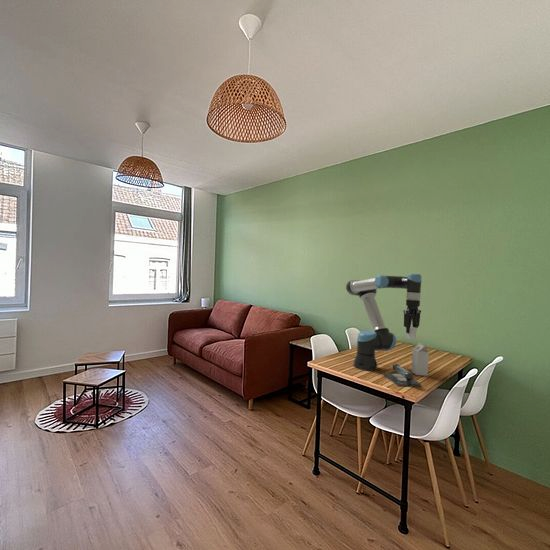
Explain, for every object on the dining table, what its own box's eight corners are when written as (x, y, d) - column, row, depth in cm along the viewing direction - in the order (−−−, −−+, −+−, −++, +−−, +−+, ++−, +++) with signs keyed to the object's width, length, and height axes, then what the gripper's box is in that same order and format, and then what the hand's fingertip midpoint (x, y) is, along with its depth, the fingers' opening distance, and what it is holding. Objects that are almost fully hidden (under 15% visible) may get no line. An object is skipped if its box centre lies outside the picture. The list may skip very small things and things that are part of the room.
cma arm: (391, 368, 180) (391, 363, 180) (397, 368, 181) (397, 363, 181) (407, 379, 163) (407, 374, 163) (414, 379, 163) (414, 374, 163)
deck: (383, 375, 179) (384, 369, 179) (405, 375, 181) (405, 370, 181) (397, 386, 163) (398, 379, 163) (421, 386, 165) (421, 379, 165)
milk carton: (422, 372, 190) (424, 343, 189) (427, 376, 182) (429, 345, 182) (411, 371, 190) (413, 342, 189) (416, 375, 183) (418, 345, 182)
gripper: (416, 298, 182) (414, 336, 183) (398, 298, 174) (396, 337, 174) (427, 300, 176) (425, 338, 176) (409, 300, 167) (407, 340, 168)
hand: (410, 338), depth 175 cm, fingers open, 4 cm apart
